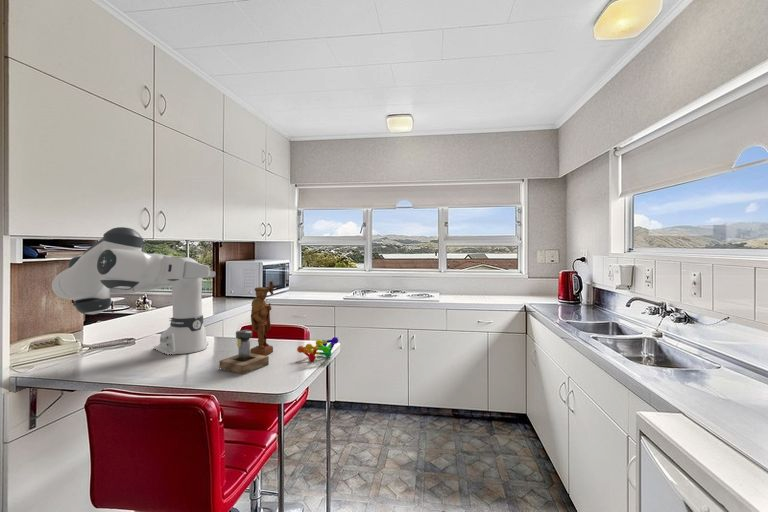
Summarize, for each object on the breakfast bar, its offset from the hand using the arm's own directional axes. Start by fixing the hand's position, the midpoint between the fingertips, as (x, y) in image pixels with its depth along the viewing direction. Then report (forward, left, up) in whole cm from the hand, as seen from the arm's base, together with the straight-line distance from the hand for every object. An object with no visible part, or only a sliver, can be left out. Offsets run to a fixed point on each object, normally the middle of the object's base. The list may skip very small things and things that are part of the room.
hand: (205, 274), depth 128 cm
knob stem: (+2, +14, -35) cm, 38 cm away
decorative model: (+19, +35, -35) cm, 53 cm away
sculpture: (-4, +29, -35) cm, 46 cm away
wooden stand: (+2, +14, -35) cm, 38 cm away
